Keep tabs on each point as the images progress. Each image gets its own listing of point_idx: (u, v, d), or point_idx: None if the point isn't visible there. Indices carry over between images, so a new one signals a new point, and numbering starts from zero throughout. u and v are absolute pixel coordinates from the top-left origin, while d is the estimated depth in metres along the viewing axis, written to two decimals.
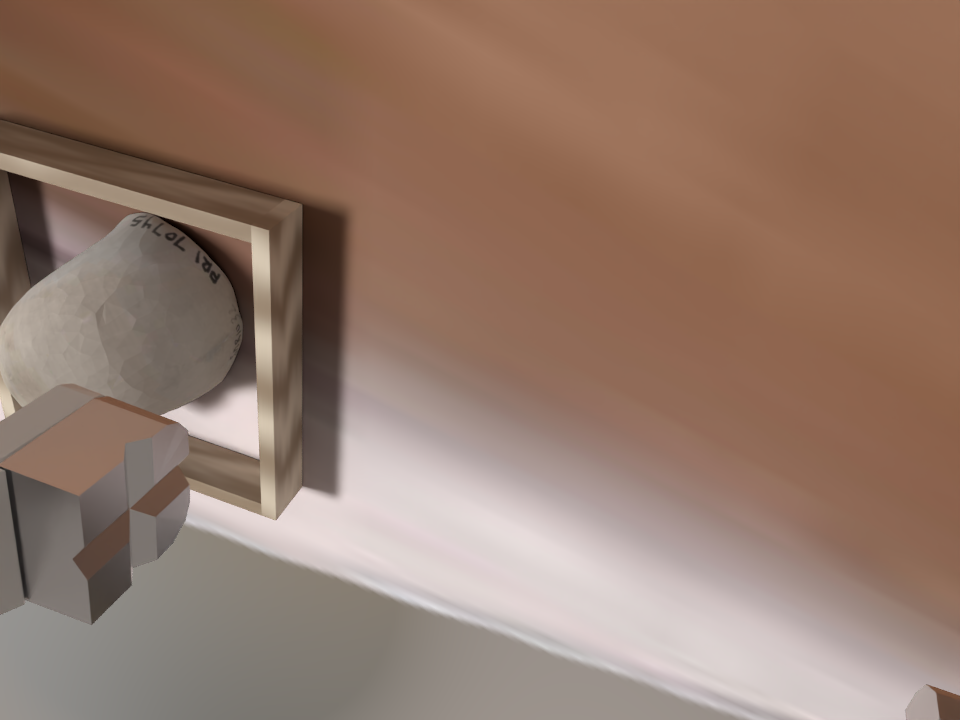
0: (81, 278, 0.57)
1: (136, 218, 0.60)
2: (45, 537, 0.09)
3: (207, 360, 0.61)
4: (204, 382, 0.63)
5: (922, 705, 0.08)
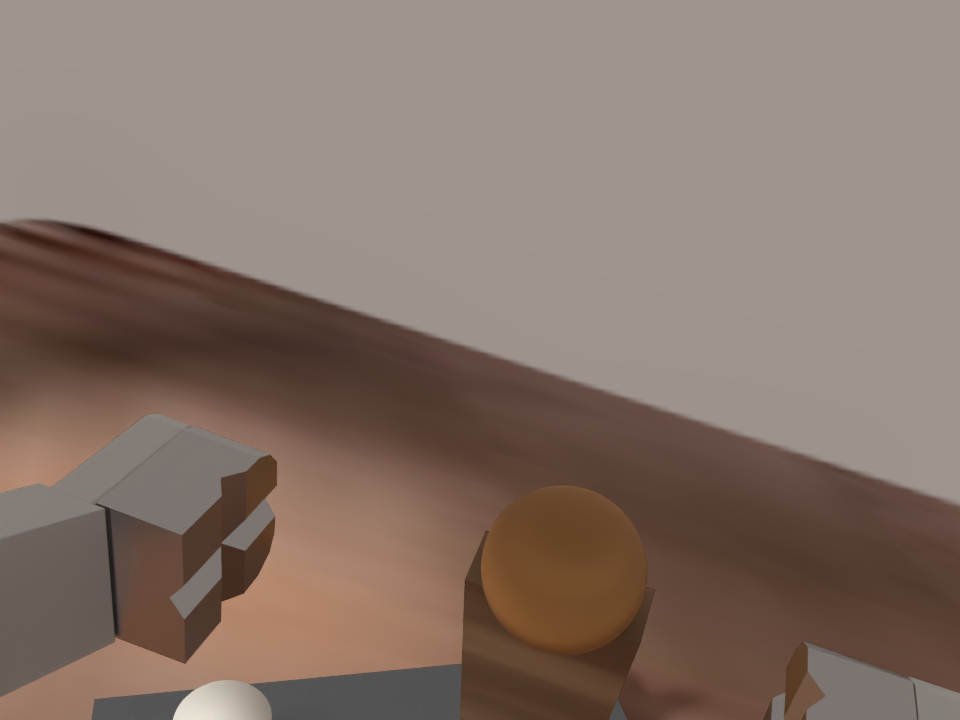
0: None
1: None
2: (142, 575, 0.09)
3: None
4: None
5: (798, 661, 0.09)
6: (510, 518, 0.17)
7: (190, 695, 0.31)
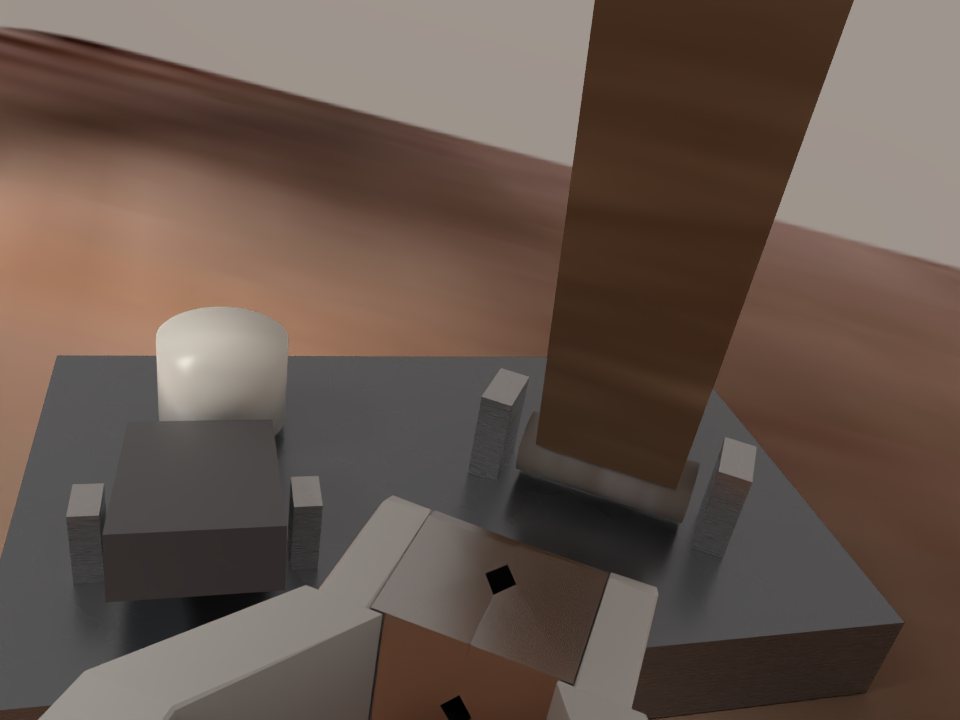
0: None
1: None
2: (411, 682, 0.08)
3: None
4: None
5: None
6: None
7: (180, 316, 0.23)
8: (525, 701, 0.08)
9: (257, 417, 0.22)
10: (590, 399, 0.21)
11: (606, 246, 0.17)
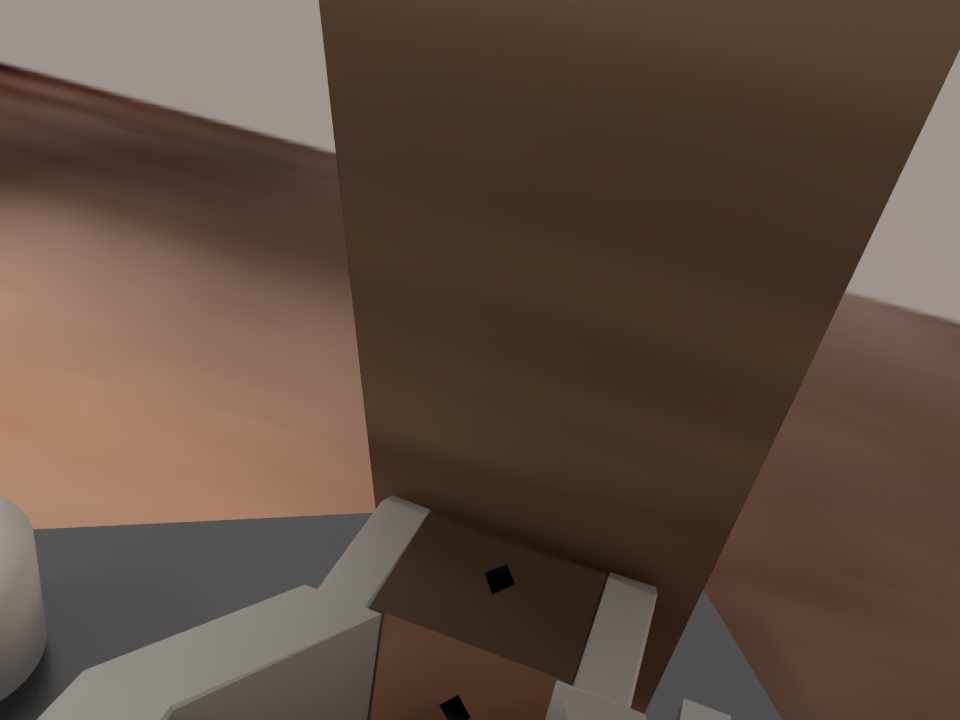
0: None
1: None
2: (410, 681, 0.08)
3: None
4: None
5: None
6: None
7: None
8: (524, 701, 0.08)
9: None
10: None
11: (446, 506, 0.10)
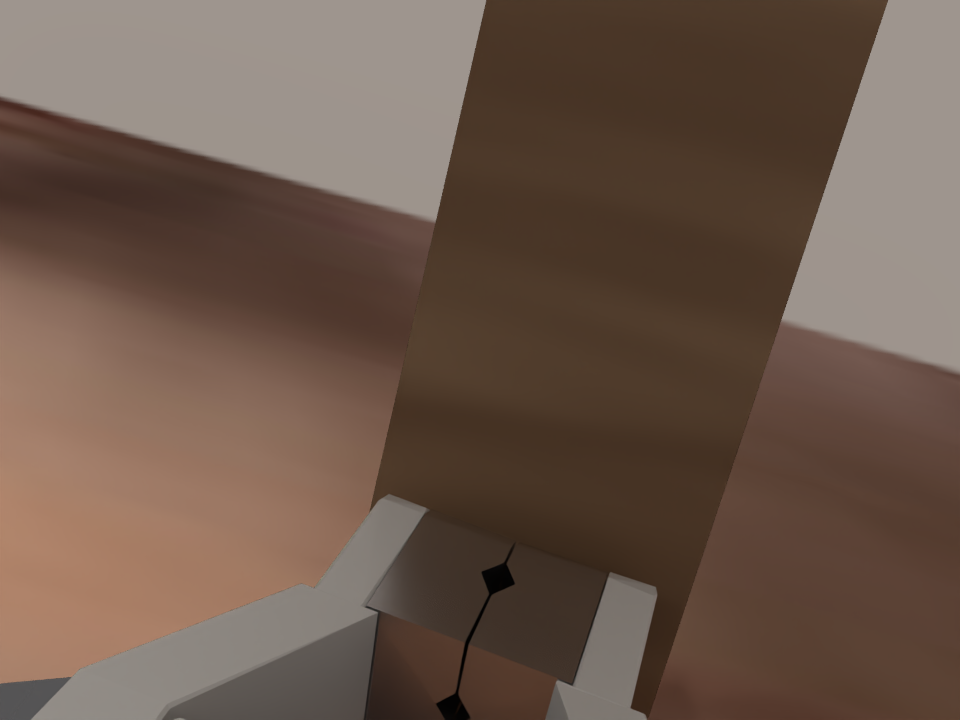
0: None
1: None
2: (406, 680, 0.08)
3: None
4: None
5: None
6: None
7: None
8: (524, 700, 0.08)
9: None
10: None
11: (453, 482, 0.10)
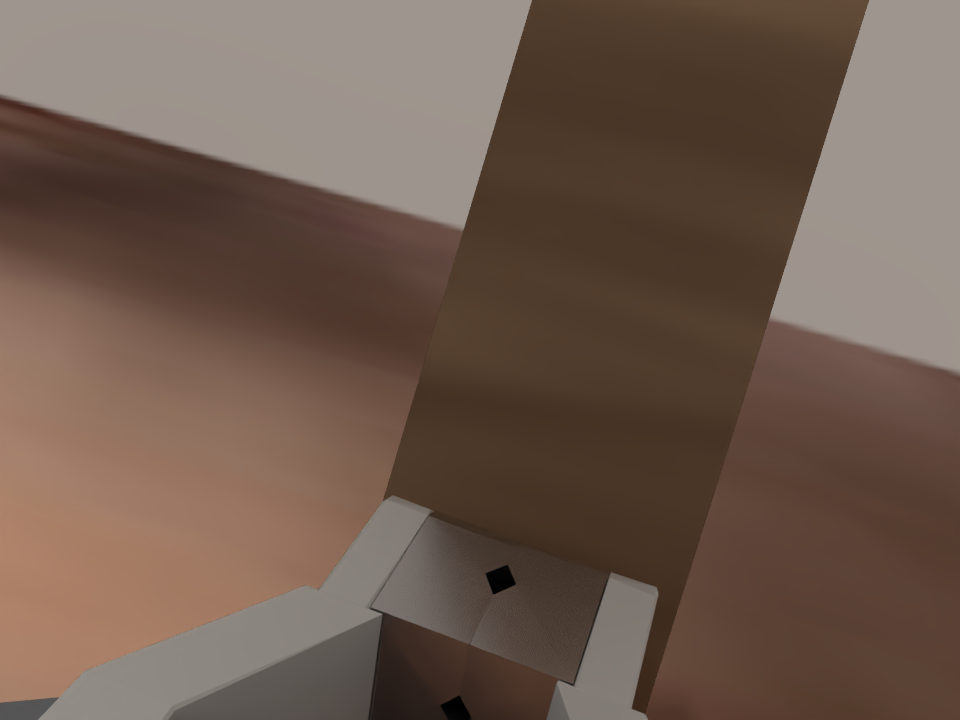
0: None
1: None
2: (410, 682, 0.08)
3: None
4: None
5: None
6: None
7: None
8: (525, 701, 0.08)
9: None
10: None
11: (468, 462, 0.11)
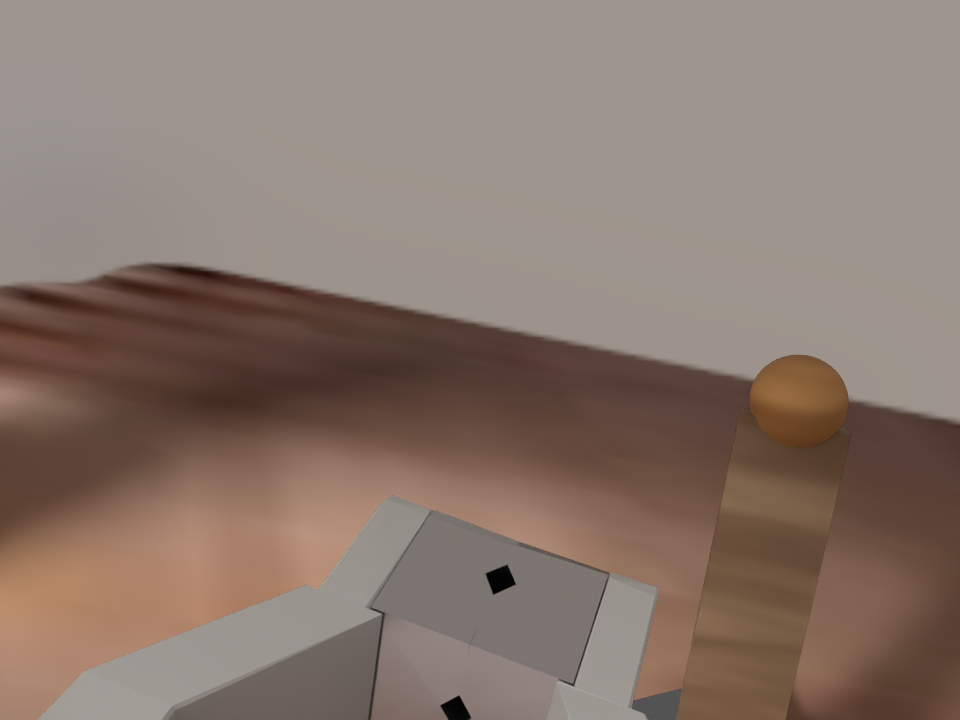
0: None
1: None
2: (411, 682, 0.08)
3: None
4: None
5: None
6: None
7: None
8: (525, 701, 0.08)
9: None
10: None
11: (714, 661, 0.32)
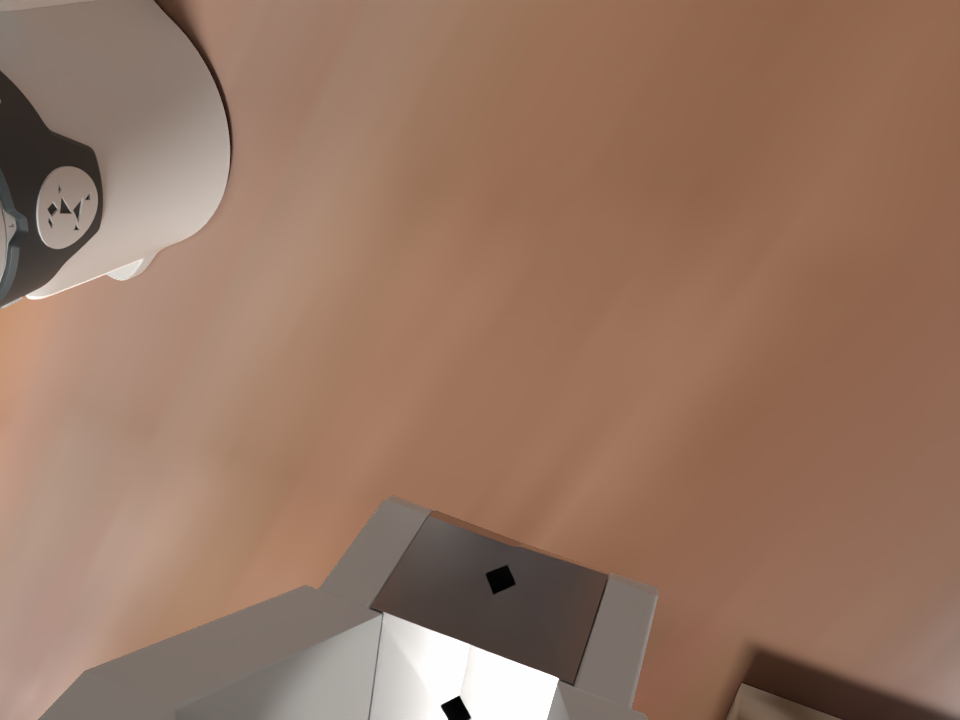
0: None
1: None
2: (411, 681, 0.08)
3: None
4: None
5: None
6: None
7: None
8: (525, 701, 0.08)
9: None
10: None
11: None
